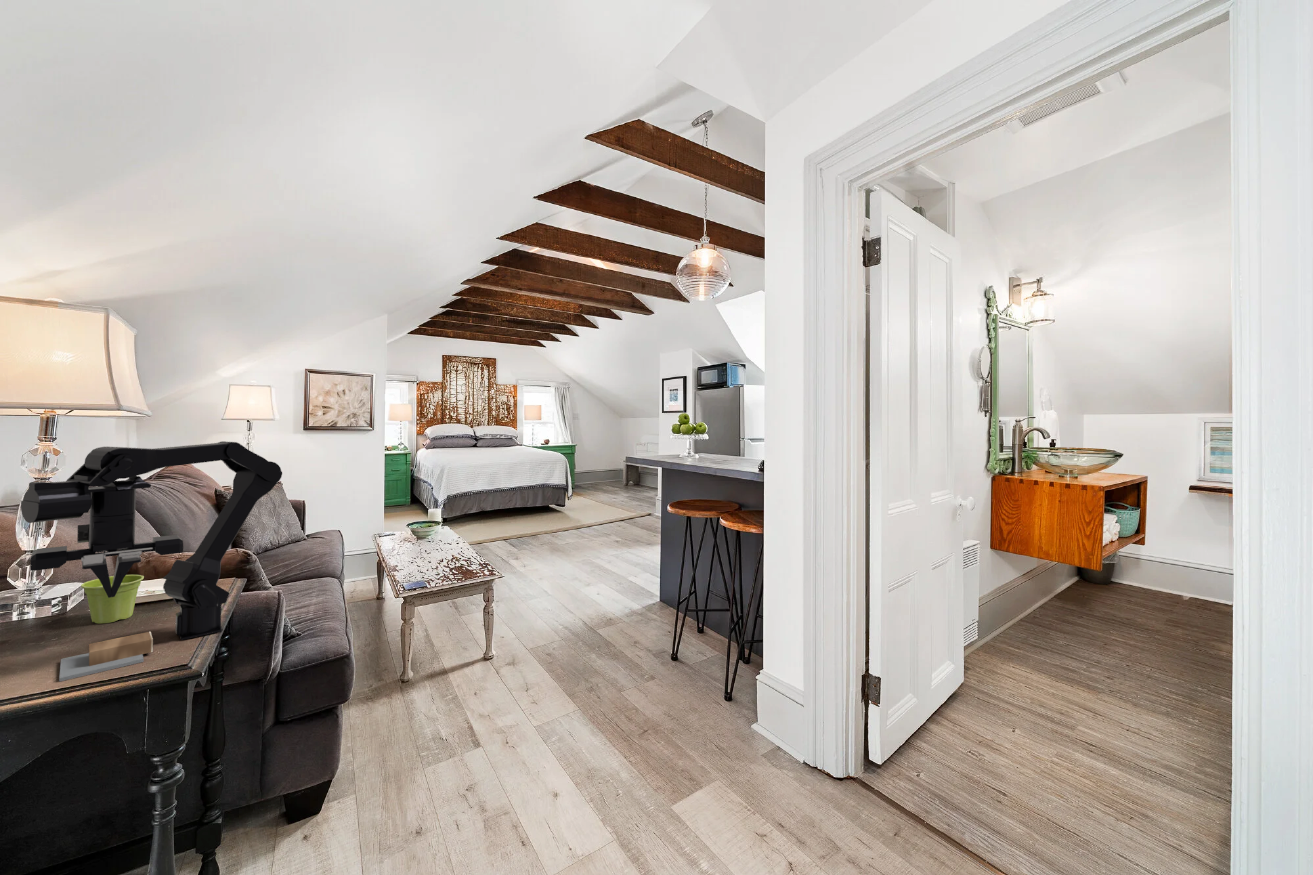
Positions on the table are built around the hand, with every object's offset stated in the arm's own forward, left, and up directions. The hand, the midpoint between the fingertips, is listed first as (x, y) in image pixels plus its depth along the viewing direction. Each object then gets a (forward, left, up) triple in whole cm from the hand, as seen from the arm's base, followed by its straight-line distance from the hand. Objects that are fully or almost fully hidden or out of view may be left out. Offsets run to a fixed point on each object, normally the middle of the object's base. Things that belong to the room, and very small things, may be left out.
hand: (111, 596), depth 91 cm
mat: (+1, 0, -12) cm, 12 cm away
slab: (+3, 0, -10) cm, 10 cm away
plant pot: (-1, -27, -12) cm, 30 cm away
